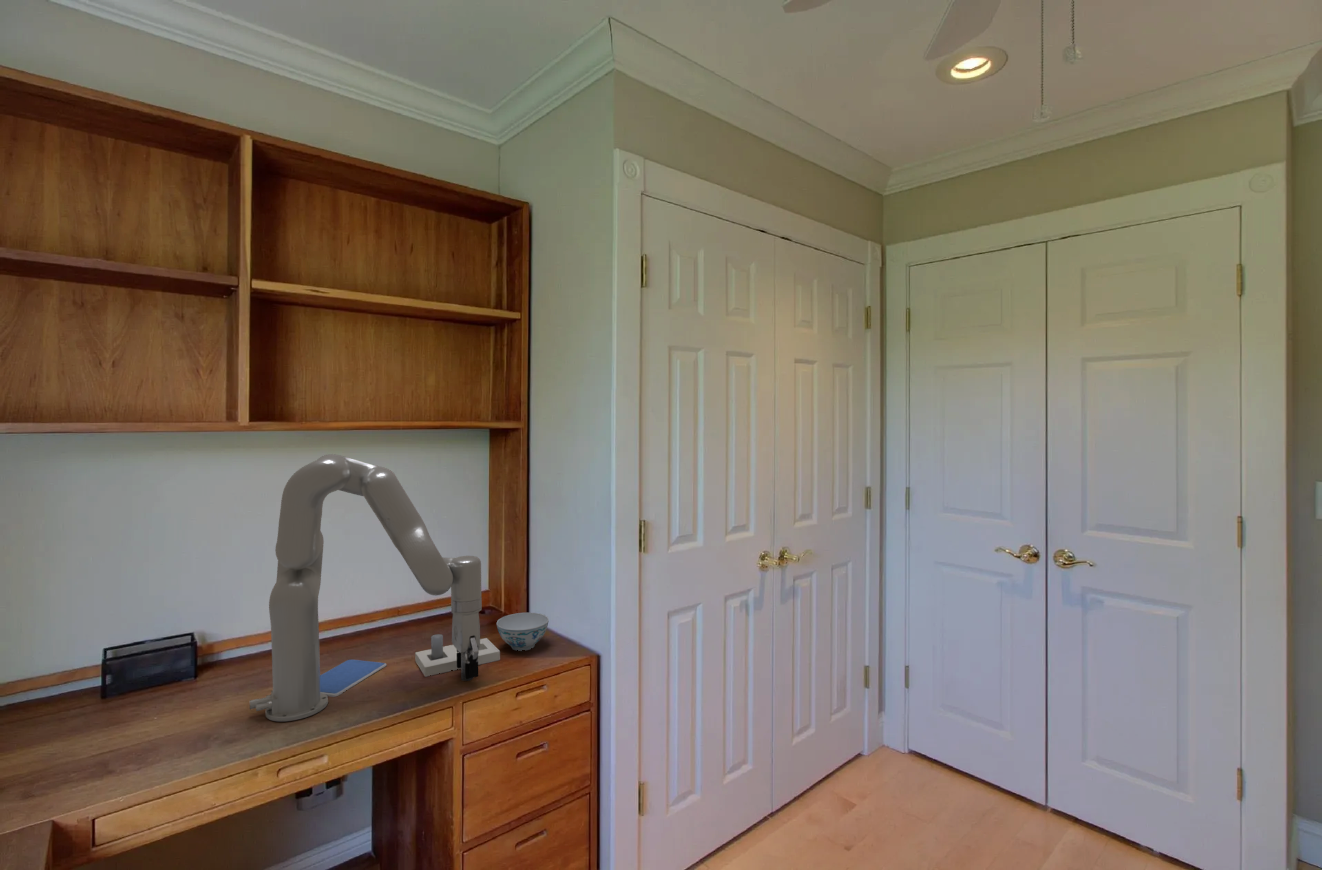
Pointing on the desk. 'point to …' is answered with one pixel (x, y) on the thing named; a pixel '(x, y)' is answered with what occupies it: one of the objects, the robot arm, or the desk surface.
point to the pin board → (450, 656)
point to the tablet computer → (347, 676)
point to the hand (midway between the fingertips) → (467, 671)
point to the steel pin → (463, 661)
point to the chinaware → (522, 629)
